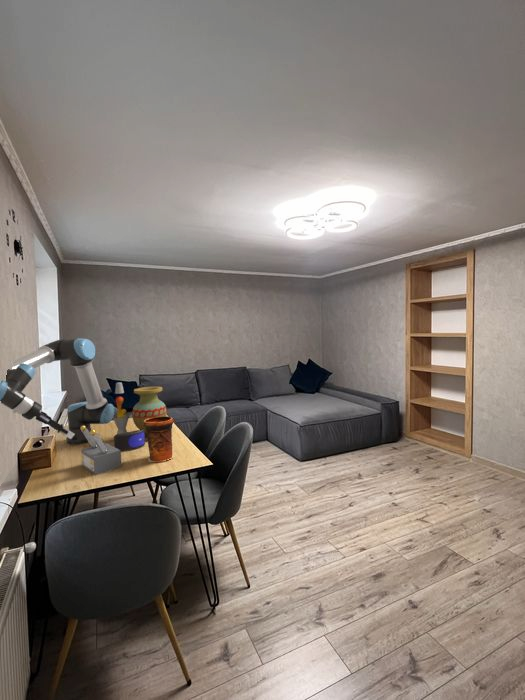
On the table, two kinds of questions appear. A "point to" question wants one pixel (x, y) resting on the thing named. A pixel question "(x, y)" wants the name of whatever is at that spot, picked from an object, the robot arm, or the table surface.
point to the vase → (147, 406)
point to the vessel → (159, 438)
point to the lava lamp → (120, 411)
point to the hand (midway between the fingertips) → (72, 436)
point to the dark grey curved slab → (129, 440)
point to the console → (101, 459)
